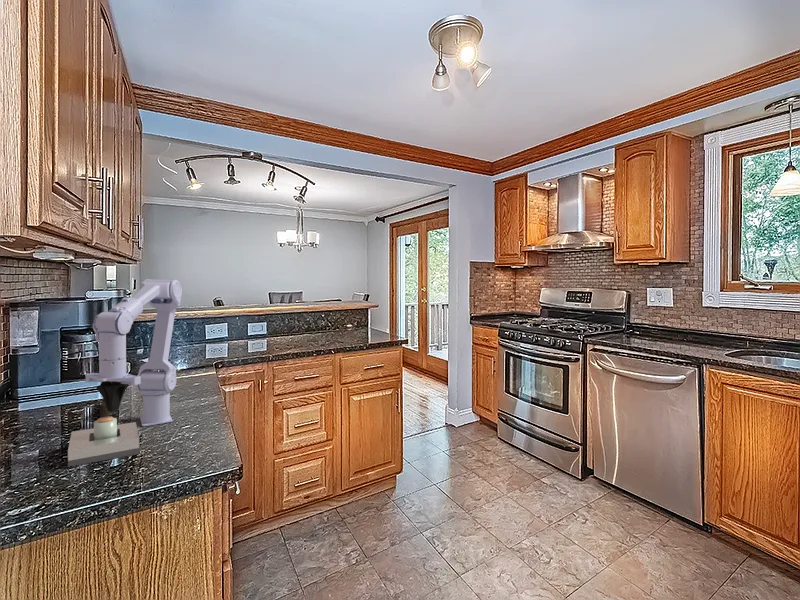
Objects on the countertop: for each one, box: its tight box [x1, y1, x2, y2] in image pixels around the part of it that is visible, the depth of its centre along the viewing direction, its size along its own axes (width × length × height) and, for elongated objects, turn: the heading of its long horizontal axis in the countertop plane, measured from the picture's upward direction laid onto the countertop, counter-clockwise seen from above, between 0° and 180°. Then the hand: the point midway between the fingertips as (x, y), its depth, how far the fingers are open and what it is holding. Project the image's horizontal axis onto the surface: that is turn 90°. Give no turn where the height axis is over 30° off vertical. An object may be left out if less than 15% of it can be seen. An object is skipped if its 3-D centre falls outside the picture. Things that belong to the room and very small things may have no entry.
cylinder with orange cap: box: [93, 416, 118, 441], centre depth 105 cm, size 5×5×7 cm
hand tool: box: [99, 399, 111, 418], centre depth 135 cm, size 19×4×5 cm, turn 26°
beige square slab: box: [67, 421, 140, 468], centre depth 105 cm, size 14×14×4 cm
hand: (113, 410), depth 107 cm, fingers closed
